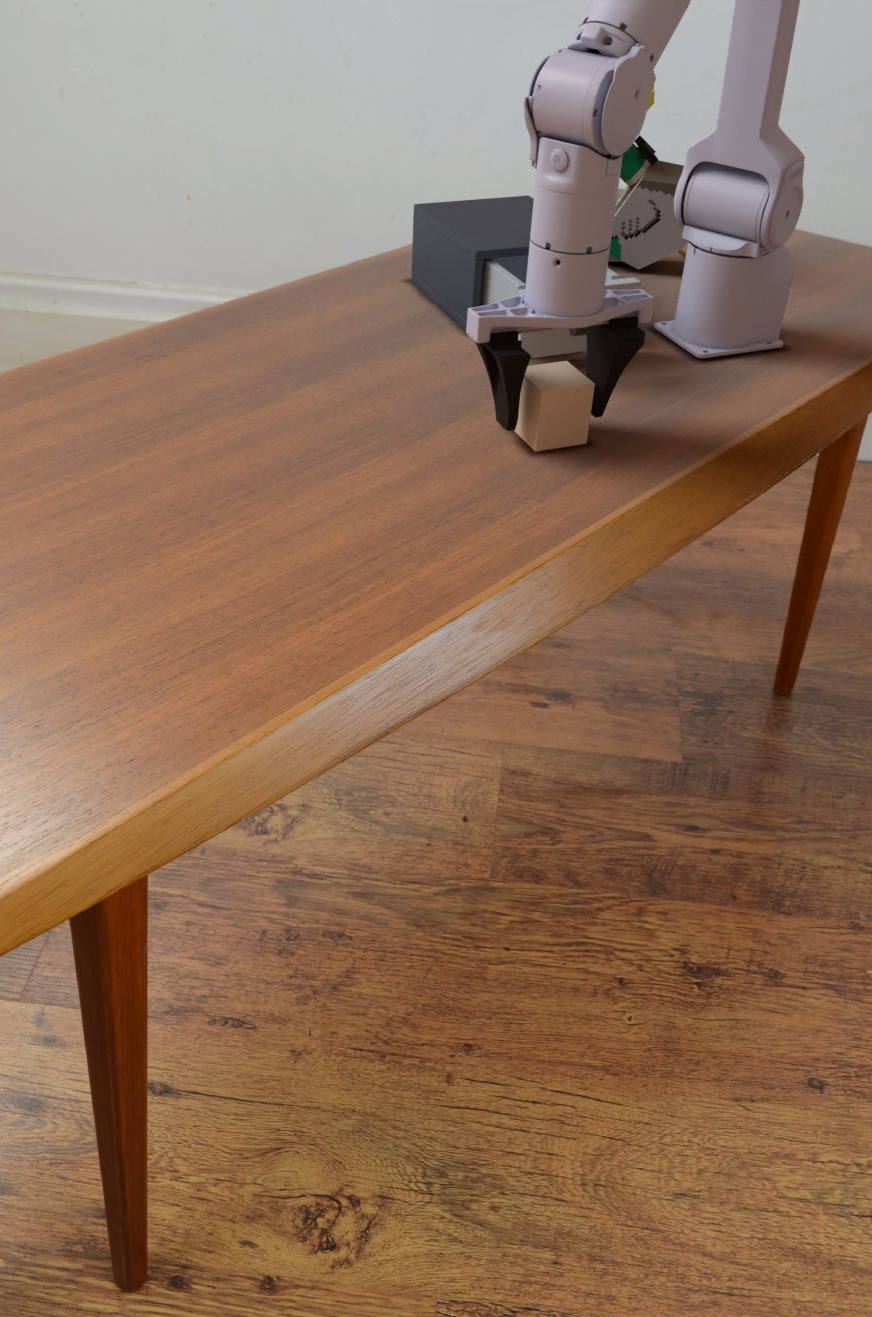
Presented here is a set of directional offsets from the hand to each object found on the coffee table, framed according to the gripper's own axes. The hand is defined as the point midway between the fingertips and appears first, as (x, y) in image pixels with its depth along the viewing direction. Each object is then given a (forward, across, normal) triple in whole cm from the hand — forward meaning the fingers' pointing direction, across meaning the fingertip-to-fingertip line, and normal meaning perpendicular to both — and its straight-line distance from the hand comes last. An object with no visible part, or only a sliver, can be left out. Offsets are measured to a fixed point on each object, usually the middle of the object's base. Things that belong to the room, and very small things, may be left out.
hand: (549, 418), depth 90 cm
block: (+1, 0, 0) cm, 1 cm away
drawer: (+1, -9, -17) cm, 19 cm away
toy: (+2, -29, -33) cm, 44 cm away
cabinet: (+1, -9, -28) cm, 29 cm away
